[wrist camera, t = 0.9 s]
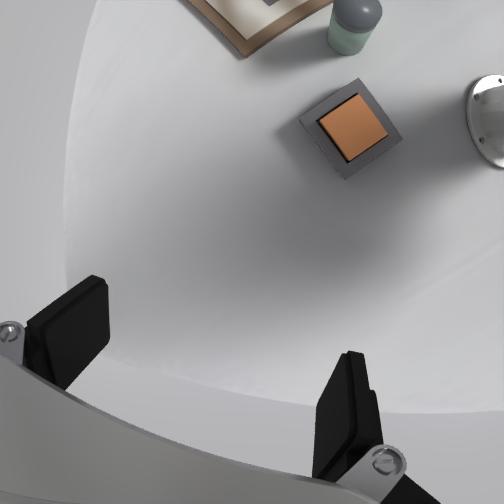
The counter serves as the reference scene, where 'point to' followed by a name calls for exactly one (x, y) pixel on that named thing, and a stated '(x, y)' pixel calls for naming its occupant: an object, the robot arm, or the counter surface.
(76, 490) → the robot arm
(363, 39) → the cylinder
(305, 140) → the counter surface
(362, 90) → the button housing
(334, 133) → the button
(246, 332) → the counter surface
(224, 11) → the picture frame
